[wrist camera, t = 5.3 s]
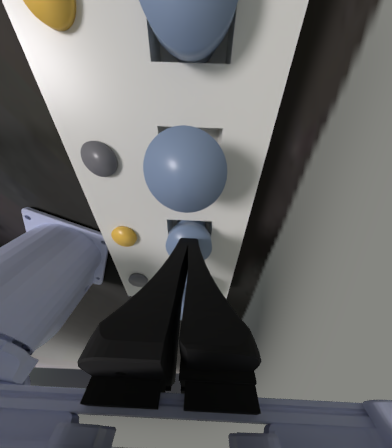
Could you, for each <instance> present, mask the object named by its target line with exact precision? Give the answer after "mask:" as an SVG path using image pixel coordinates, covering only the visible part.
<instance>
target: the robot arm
mask: <svg viewBox="0 0 392 448" xmlns="http://www.w3.org/2000/svg"><path fill="white" fill-rule="evenodd" d="M21 212H22V216H23V220H24V224H25V228H26V233H24V234H23V235H21V236H19V237H18V238H16V239H14V240H12V241H11V242H9V243H7V244H5V245H4V246H2V247H0V448H123V447H112V442H113V439H114V435H115V432H116V428H115V427H109V426H100V425H92V424H79V416H78V414H87V415H105V416H125V417H143V418H160V419H178V420H179V419H180V420H197V421H216V422H234V423H252V424H267V425H266V426H265V428H264V433H230V434H229V446H230V448H392V400H369V401H364V402H363V403H350V402H332V401H331V402H330V401H311V400H293V399H275V398H258V397H257V392H256V387H255V385H256V378H255V373H254V370H255V369H256V368H257V367H258V366H259V365H260V363H261V358H260V354H259V351H258V348H257V345H256V343H255V340H254V338H253V335H252V333H251V331H250V329H249V328H248V327H247V325H246V324H245V323H244V322H243V321H242V319H241V318H240V317H239V316H238V314H237V313H236V312H235V311H234V309H233V308H232V307H231V305H230V304H229V303H228V301H227V300H226V298H225V297H224V295H223V294H222V292H221V291H220V289H219V288H218V286H217V284H216V283H215V281H214V279H213V278H212V276H211V274H210V272H209V270H208V268H207V266H206V263H205V261H204V259H203V256H202V253H201V250H200V247H199V242H198V239H197V238H180V239H179V241H178V243H177V245H176V247H175V248H174V250H173V251H172V253H171V254H170V256H169V257H168V259H167V260H166V261H165V263H164V264H163V265H162V267H161V268H160V269H159V270H158V271H157V273H156V274H155V275H154V276H153V277H152V278H151V279H150V280H149V281H148V282H147V283H146V284H145V285H144V286H143V287H142V288H141V289H140V290H139V291H138V292H137V293H136V294H135V295H134V296H133V297H131V298H130V299H129V300H128V301H127V302H126V303H125V304H123V305H122V306H121V307H120V308H118V309H117V310H116V311H115V312H113V313H112V314H111V315H109V316H108V317H107V318H106V319H104V320H103V321H102V322H100V323H99V325H98V327H97V328H96V330H95V331H94V333H93V334H92V336H91V338H90V339H89V341H88V343H87V345H86V347H85V349H84V350H83V352H82V354H81V356H80V358H79V360H78V367H80V368H81V369H82V370H84V371H85V372H87V373H88V374H90V375H91V376H92V377H91V379H90V382H89V384H88V386H87V388H66V387H48V386H31V384H30V383H31V380H30V376H29V374H30V372H31V371H32V369H33V368H34V367H35V365H36V364H37V362H38V359H35V358H33V357H31V356H30V355H32V353H33V352H34V351H35V350H36V349H37V348H39V347H40V346H42V345H43V344H45V343H46V342H47V341H49V340H50V339H51V338H52V337H53V336H54V335H55V334H56V333H57V332H58V331H59V330H60V328H61V327H62V326H63V324H64V323H65V321H66V320H67V319H68V317H69V316H70V314H71V313H72V312H73V310H74V309H75V307H76V306H77V305H78V303H79V302H80V300H81V299H82V298H83V296H84V295H85V293H86V292H87V291H88V289H89V288H90V286H91V285H92V284H93V283H94V284H98V285H100V284H101V283H102V282H103V278H104V272H105V267H106V261H107V256H108V247H107V245H106V243H105V240H104V238H103V236H102V233H101V232H98V231H96V230H93V229H90V228H87V227H84V226H81V225H78V224H75V223H73V222H70V221H67V220H64V219H61V218H58V217H55V216H52V215H50V214H47V213H44V212H41V211H38V210H35V209H32V208H29V207H26V208H23V209H22V210H21ZM187 272H188V275H187ZM186 277H187V284H186V292H185V300H184V308H183V315H182V322H181V329H180V336H179V328H180V318H181V307H182V299H183V293H184V288H185V283H186ZM178 339H179V345H180V355H181V362H180V373H179V381H180V383H181V394H179V393H165V391H171V386H172V385H173V384H174V382H175V375H176V363H177V351H178Z"/></svg>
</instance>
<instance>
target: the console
mask: <svg viewBox="0 0 392 448" xmlns="http://www.w3.org/2000/svg"><path fill="white" fill-rule="evenodd" d="M308 1H309V0H238V3H237V6H236V10H235V13H234V16H233V20H232V22H231V25H230V27H229V30H228V32H227V34H226V35H225V37H224V39H223V40H222V42H221V43H220V45H219V46H218V47H217V48H216V50H215V52H214V53H213V55H212V57H211V58H210V59H209V60H208V61H207V62H206V63H181V62H179V61H178V60H177V59H176V58H175V57H174V56H173V55H171V54H170V53H169V52H168V51H167V50H166V49H165V48H164V47H163V46H162V45H161V43H160V42H159V41H158V39H157V37H156V36H155V34H154V32H153V30H152V28H151V26H150V24H149V22H148V20H147V18H146V16H145V13H144V11H143V9H142V7H141V4H140V2H139V0H2V2H3V4H4V6H5V9H6V11H7V13H8V16H9V18H10V20H11V23H12V25H13V27H14V30H15V32H16V34H17V37H18V39H19V41H20V44H21V46H22V48H23V51H24V53H25V55H26V58H27V60H28V62H29V65H30V67H31V69H32V72H33V74H34V77H35V79H36V81H37V84H38V86H39V88H40V91H41V93H42V95H43V98H44V100H45V102H46V105H47V107H48V109H49V112H50V114H51V116H52V119H53V121H54V123H55V126H56V128H57V130H58V133H59V135H60V137H61V140H62V142H63V144H64V147H65V149H66V151H67V154H68V156H69V158H70V161H71V163H72V166H73V168H74V170H75V173H76V175H77V177H78V180H79V182H80V184H81V187H82V189H83V191H84V194H85V196H86V198H87V201H88V203H89V205H90V208H91V210H92V212H93V215H94V217H95V219H96V222H97V224H98V226H99V229H100V231H101V233H102V236H103V238H104V240H105V243H106V245H107V247H108V250H109V252H110V255H111V257H112V259H113V262H114V264H115V266H116V269H117V271H118V273H119V276H120V278H121V280H122V283H123V285H124V287H125V290H126V292H127V294H128V296H134V295H135V294H136V293H137V292H138V291H139V290H140V289H141V288H142V287H143V286H144V285H145V284H146V283H147V282H148V281H149V280H150V279H151V278H152V277H153V276H154V275H155V274H156V273H157V271H158V270H159V269H160V268H161V267H162V265H163V264H164V263H165V261H166V260H167V259H168V257H169V256H170V255H169V254H168V253H167V250H166V241H167V238H168V235H169V232H170V230H171V229H172V228H173V227H174V226H175V225H176V224H177V220H191V221H205V223H206V229H207V230H208V231H209V233H210V235H211V242H212V251H211V254H210V255H209V257H208V258H207V259H205V260H204V261H205V263H206V266H207V268H208V270H209V272H210V274H211V276H212V278H213V279H214V281H215V283H216V284H217V286H218V288H219V289H220V291H221V292H222V294H223V295H224V297H225V298H226V299H227V295H228V292H229V288H230V285H231V281H232V277H233V274H234V270H235V266H236V263H237V259H238V256H239V252H240V248H241V245H242V241H243V237H244V234H245V230H246V226H247V223H248V219H249V216H250V212H251V208H252V205H253V201H254V197H255V194H256V190H257V187H258V183H259V179H260V176H261V172H262V168H263V165H264V161H265V157H266V154H267V150H268V147H269V143H270V139H271V136H272V132H273V128H274V125H275V121H276V118H277V114H278V110H279V107H280V103H281V99H282V96H283V92H284V88H285V85H286V81H287V78H288V74H289V70H290V67H291V63H292V59H293V56H294V52H295V49H296V45H297V41H298V38H299V34H300V30H301V27H302V23H303V19H304V16H305V12H306V9H307V5H308ZM181 125H186V126H193V127H196V128H199V129H201V130H203V131H205V132H206V133H208V134H209V135H210V136H212V137H213V138H214V139H215V140H216V142H217V143H218V144H219V146H220V147H221V149H222V151H223V153H224V155H225V159H226V163H227V180H226V184H225V187H224V189H223V191H222V193H221V195H220V196H219V197H218V199H217V200H216V201H215V202H214V203H213V204H211V205H210V206H209V207H207V208H205V209H203V210H200V211H197V212H191V213H184V212H178V211H174V210H171V209H169V208H167V207H166V206H164V205H162V204H161V203H160V202H159V201H158V200H157V199H156V198H155V197H154V196H153V195H152V193H151V192H150V190H149V188H148V186H147V184H146V181H145V178H144V172H143V162H144V156H145V153H146V150H147V148H148V146H149V144H150V143H151V141H152V140H153V139H154V138H155V137H156V136H157V135H158V134H159V133H160V132H162V131H164V130H165V129H168V128H170V127H174V126H181Z"/></svg>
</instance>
